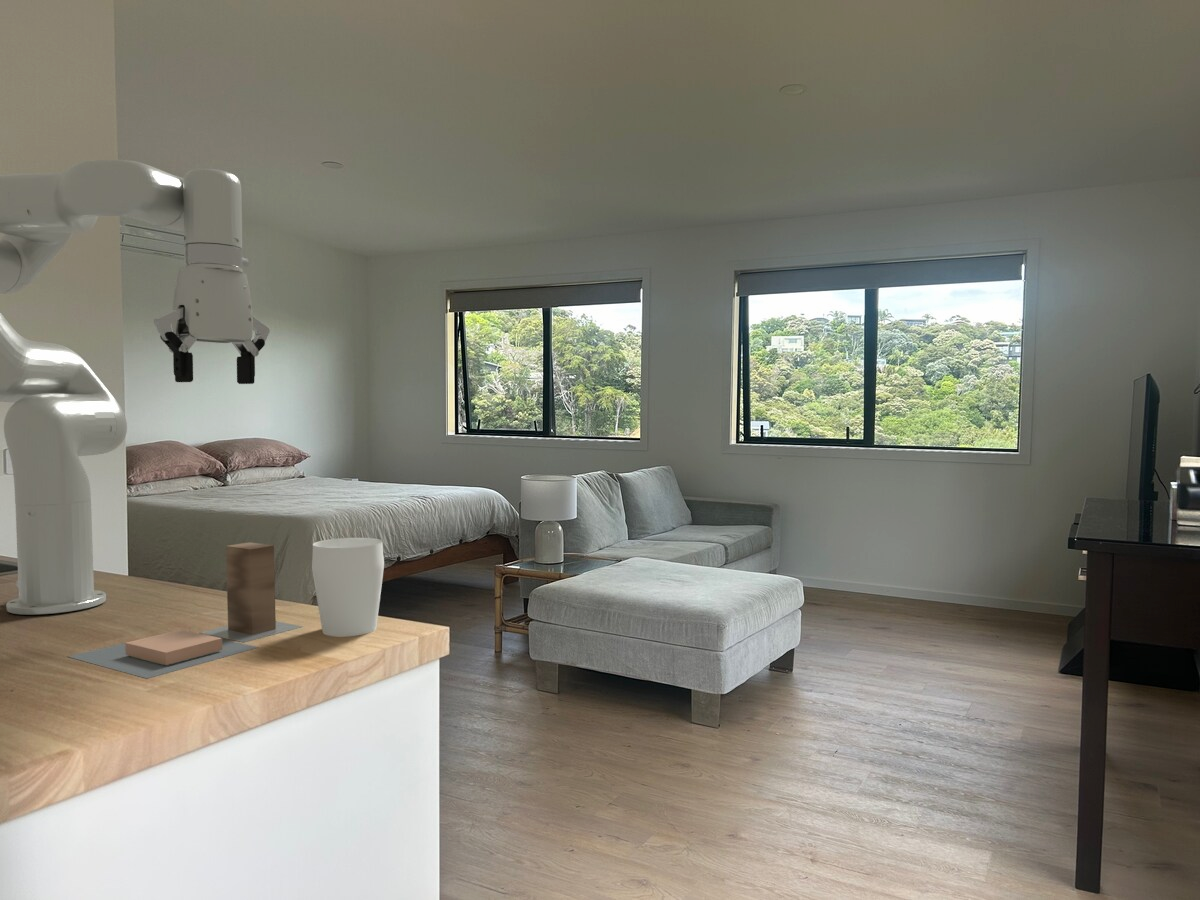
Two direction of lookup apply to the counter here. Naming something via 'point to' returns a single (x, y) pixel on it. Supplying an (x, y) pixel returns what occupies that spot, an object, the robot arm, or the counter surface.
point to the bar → (250, 588)
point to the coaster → (243, 637)
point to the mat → (124, 663)
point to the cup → (348, 584)
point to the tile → (173, 647)
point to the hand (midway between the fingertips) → (215, 382)
